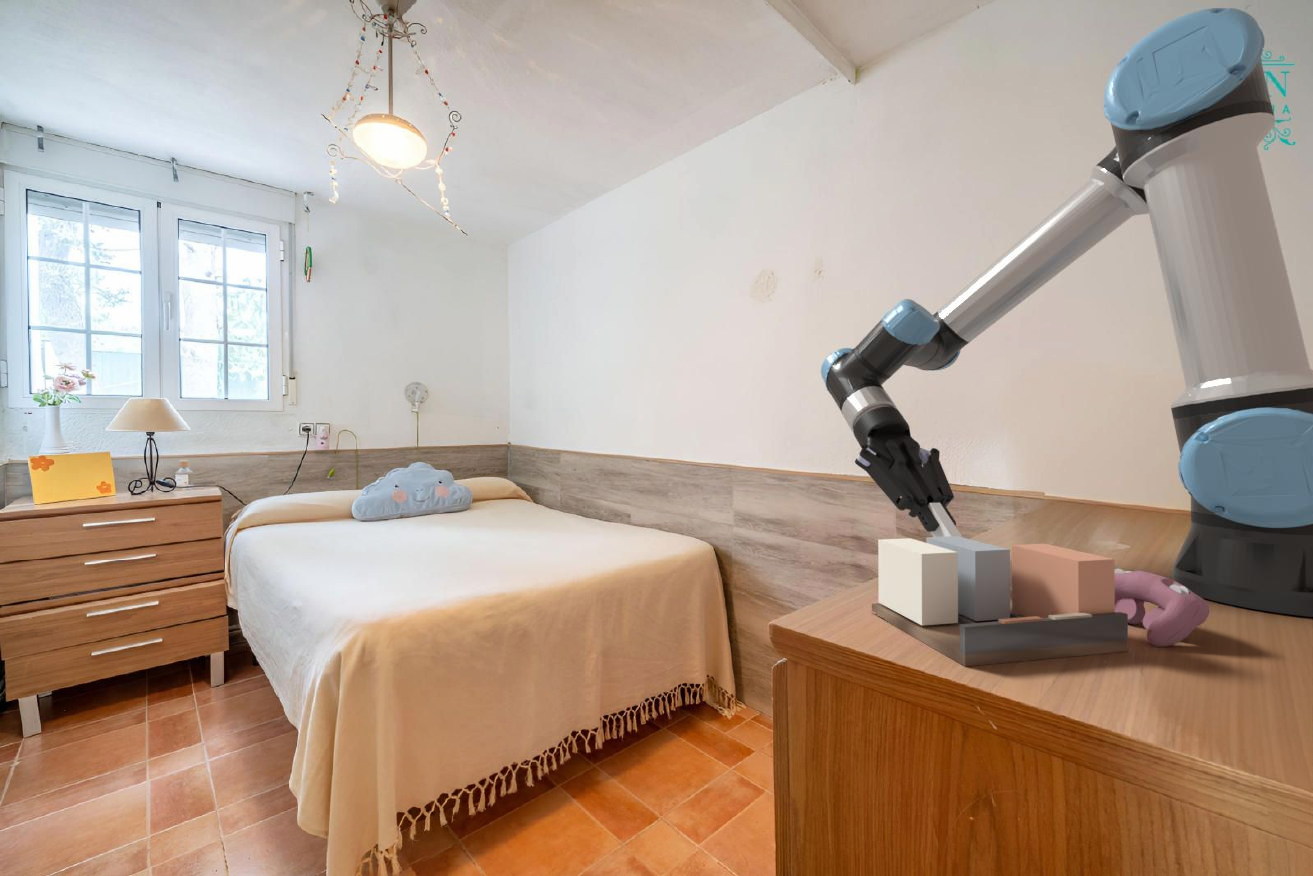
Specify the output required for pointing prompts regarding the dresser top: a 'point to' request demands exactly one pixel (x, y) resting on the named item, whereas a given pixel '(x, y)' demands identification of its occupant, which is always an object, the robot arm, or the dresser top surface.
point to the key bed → (1018, 636)
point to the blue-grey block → (980, 577)
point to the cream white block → (918, 580)
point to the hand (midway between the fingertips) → (955, 550)
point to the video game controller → (1174, 601)
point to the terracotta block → (1060, 581)
